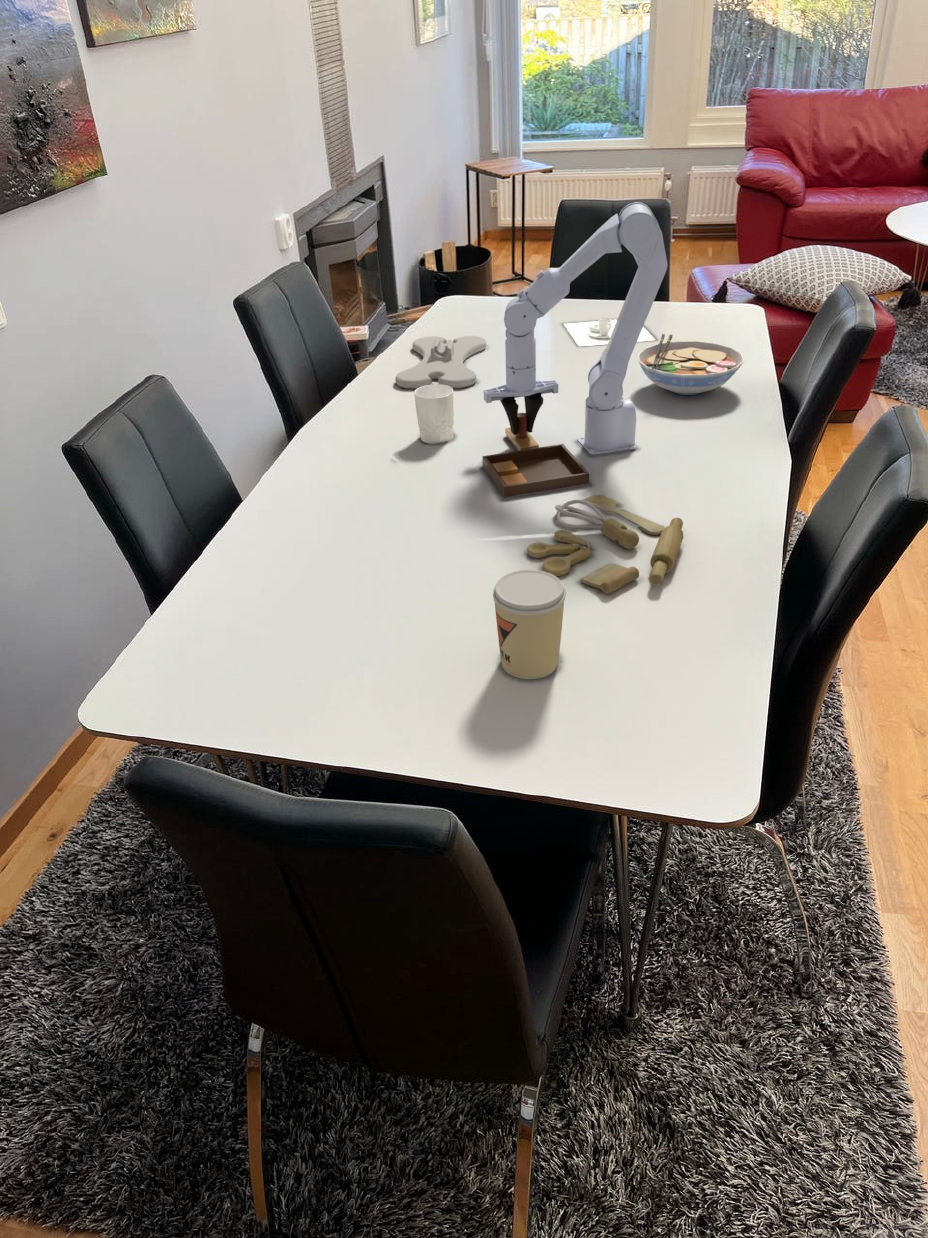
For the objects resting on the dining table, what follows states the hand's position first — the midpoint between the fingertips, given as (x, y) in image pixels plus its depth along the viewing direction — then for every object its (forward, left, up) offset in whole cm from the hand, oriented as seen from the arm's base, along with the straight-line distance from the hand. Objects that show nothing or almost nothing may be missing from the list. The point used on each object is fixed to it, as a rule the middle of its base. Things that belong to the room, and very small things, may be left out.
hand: (521, 431), depth 182 cm
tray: (+2, +14, -3) cm, 14 cm away
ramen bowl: (-44, -16, -3) cm, 47 cm away
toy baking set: (-1, +42, -3) cm, 42 cm away
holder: (+3, -54, -3) cm, 54 cm away
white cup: (+15, -10, -3) cm, 19 cm away
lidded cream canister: (+21, +69, -3) cm, 72 cm away
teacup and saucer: (-44, -62, -3) cm, 77 cm away
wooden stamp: (0, 0, -3) cm, 3 cm away
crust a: (+7, +11, -3) cm, 13 cm away
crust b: (+7, +17, -3) cm, 18 cm away
